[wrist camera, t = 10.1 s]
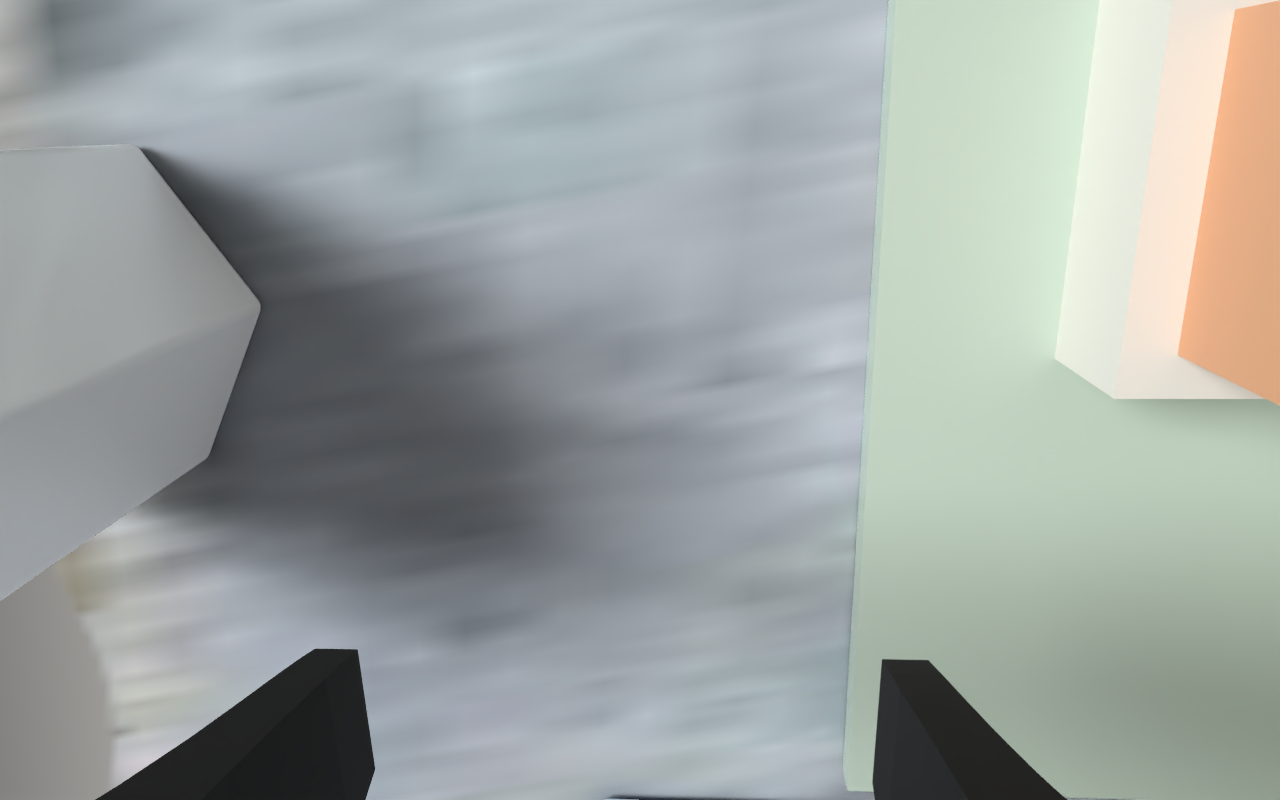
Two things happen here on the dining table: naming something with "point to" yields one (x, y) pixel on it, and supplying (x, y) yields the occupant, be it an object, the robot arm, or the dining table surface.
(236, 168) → the dining table surface
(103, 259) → the jar
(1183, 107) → the base brick
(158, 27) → the dining table surface
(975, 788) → the robot arm
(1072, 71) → the baseplate
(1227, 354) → the top brick
